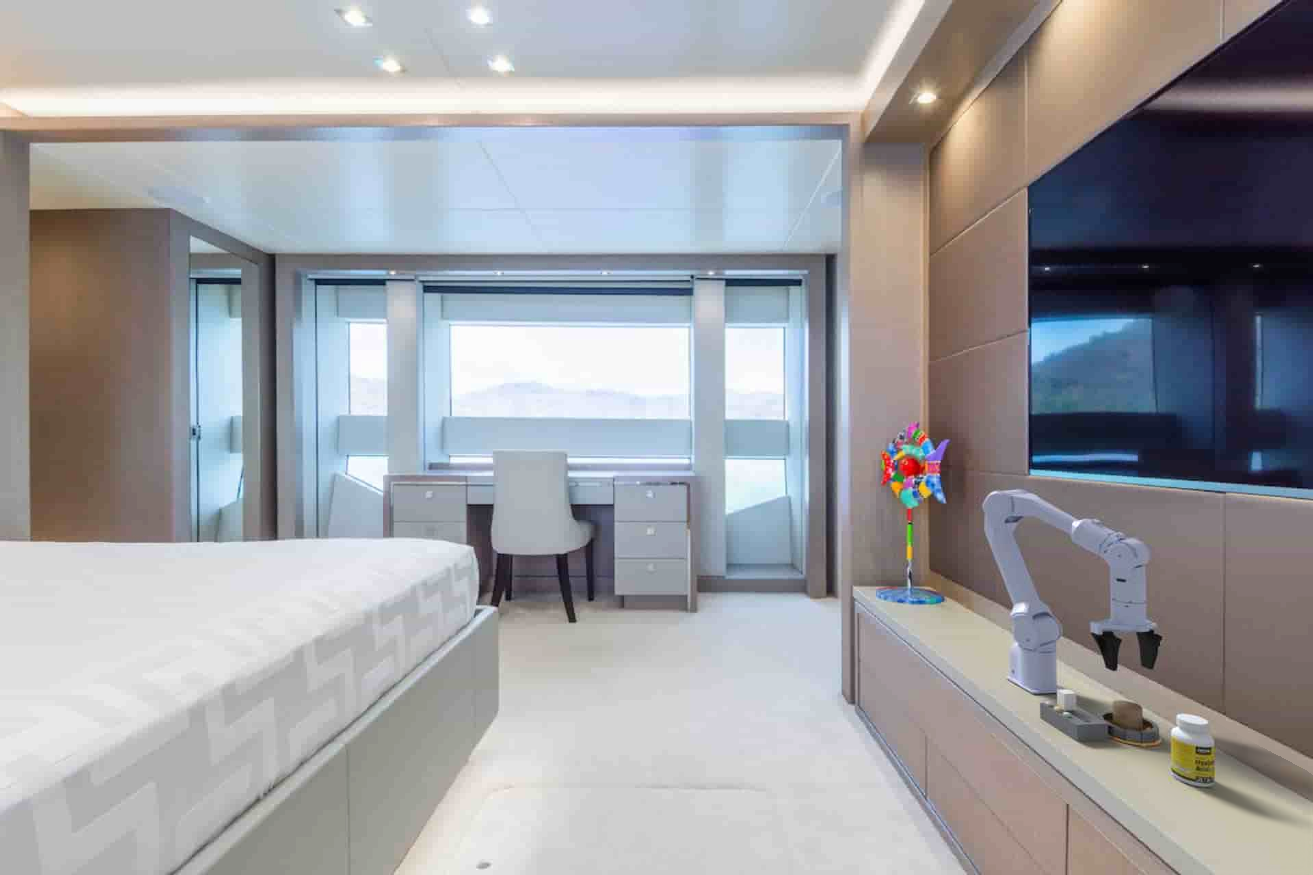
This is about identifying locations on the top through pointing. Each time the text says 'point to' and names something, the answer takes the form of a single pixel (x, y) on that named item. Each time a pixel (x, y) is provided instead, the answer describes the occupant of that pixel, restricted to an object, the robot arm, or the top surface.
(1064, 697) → the handle
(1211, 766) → the supplement bottle
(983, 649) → the top surface
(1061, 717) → the switch box
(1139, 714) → the brown tapered cylinder
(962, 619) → the top surface
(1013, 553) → the robot arm
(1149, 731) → the ring
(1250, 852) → the top surface
